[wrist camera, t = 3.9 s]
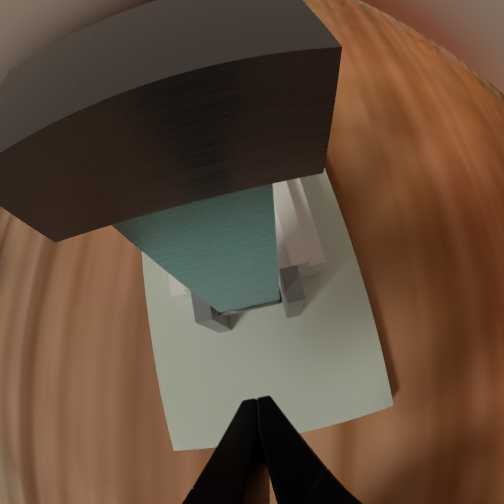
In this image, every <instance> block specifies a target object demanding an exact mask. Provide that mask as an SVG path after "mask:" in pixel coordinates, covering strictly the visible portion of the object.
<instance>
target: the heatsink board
mask: <svg viewBox="0 0 504 504" xmlns="http://www.w3.org/2000/svg"><path fill="white" fill-rule="evenodd" d="M273 198H274V212H275V227H276V242H277V259H278V276H279V288H280V292H281V297H282V303H280V304H276V305H272V306H267V307H263V308H258V309H254V310H249V311H245V312H240V313H235V314H230V315H226V316H221V317H220V316H219V315H218V313H217V310H215V309H214V308H213V307H211V306H210V305H209V304H207V303H206V302H205V301H203V300H202V299H201V298H200V297H198V296H197V295H196V294H194V293H193V292H192V291H191V290H189V289H188V288H187V287H185V286H184V285H183V284H182V283H180V282H179V281H178V280H177V279H175V278H174V277H173V276H172V275H170V274H169V273H168V272H167V271H165V270H164V269H163V268H162V267H161V266H159V265H158V264H157V263H156V262H154V261H153V260H152V259H151V258H150V257H148V256H147V255H146V254H145V253H144V252H142V261H143V273H144V283H145V293H146V301H147V310H148V318H149V325H150V332H151V339H152V346H153V352H154V358H155V364H156V370H157V376H158V381H159V387H160V392H161V397H162V402H163V407H164V411H165V416H166V420H167V425H168V429H169V434H170V438H171V442H172V446H173V450H174V451H177V450H192V449H204V448H214V447H217V445H218V444H219V442H220V440H221V438H222V437H223V435H224V433H225V431H226V430H227V428H228V426H229V424H230V422H231V421H232V419H233V417H234V415H235V413H236V412H237V410H238V408H239V406H240V404H241V402H242V401H243V400H247V399H252V398H255V399H256V400H257V398H258V397H263V396H268V395H269V396H271V397H272V398H273V400H274V401H275V402H276V404H277V405H278V406H279V408H280V409H281V410H282V412H283V413H284V414H285V416H286V417H287V418H288V420H289V421H290V422H291V424H292V425H293V426H294V427H295V429H296V430H297V431H298V433H303V432H307V431H312V430H316V429H320V428H324V427H327V426H331V425H335V424H338V423H342V422H345V421H349V420H352V419H355V418H359V417H362V416H365V415H368V414H371V413H374V412H377V411H380V410H383V409H385V408H388V407H391V406H394V405H393V400H392V395H391V390H390V385H389V380H388V376H387V371H386V366H385V362H384V358H383V353H382V349H381V345H380V341H379V337H378V333H377V329H376V325H375V321H374V317H373V314H372V310H371V306H370V303H369V299H368V295H367V292H366V288H365V285H364V282H363V278H362V275H361V272H360V268H359V265H358V262H357V259H356V255H355V252H354V249H353V246H352V243H351V240H350V237H349V234H348V231H347V228H346V225H345V222H344V219H343V216H342V214H341V211H340V208H339V205H338V202H337V200H336V197H335V194H334V191H333V189H332V186H331V183H330V181H329V178H328V176H327V173H326V170H325V168H324V171H323V173H322V174H317V175H312V176H307V177H302V178H297V179H292V180H287V181H282V182H277V183H273Z"/></svg>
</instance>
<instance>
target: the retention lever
mask: <svg viewBox="0 0 504 504" xmlns="http://www.w3.org/2000/svg"><path fill="white" fill-rule="evenodd" d="M341 51H342V46H341V45H340V44H339V42H338V41H337V40H336V39H335V37H334V36H333V35H332V34H331V33H330V31H329V30H328V29H327V28H326V27H325V25H324V24H323V23H322V22H321V21H320V20H319V18H318V17H317V16H316V15H315V14H314V13H313V12H312V11H311V9H310V8H309V7H308V6H307V5H306V4H305V3H304V2H303V1H302V0H156V1H153V2H149V3H146V4H144V5H141V6H138V7H135V8H132V9H129V10H127V11H124V12H121V13H119V14H117V15H114V16H112V17H109V18H107V19H104V20H102V21H100V22H98V23H95V24H93V25H91V26H89V27H87V28H84V29H82V30H80V31H78V32H76V33H74V34H72V35H70V36H68V37H66V38H64V39H62V40H60V41H59V42H57V43H55V44H53V45H51V46H49V47H48V48H46V49H44V50H42V51H41V52H39V53H37V54H36V55H34V56H32V57H31V58H30V59H28V60H26V61H25V62H23V63H21V64H20V65H18V66H17V67H15V68H14V69H12V70H11V71H9V73H8V74H7V76H6V78H5V80H4V82H3V83H2V85H1V87H0V206H1V207H3V208H4V209H5V210H7V211H8V212H10V213H11V214H13V215H14V216H16V217H17V218H19V219H20V220H21V221H23V222H24V223H26V224H27V225H29V226H31V227H32V228H34V229H35V230H37V231H38V232H40V233H41V234H43V235H44V236H46V237H48V238H49V239H51V240H52V241H54V242H58V241H62V240H65V239H68V238H71V237H74V236H77V235H80V234H83V233H86V232H90V231H93V230H96V229H99V228H102V227H106V226H109V225H112V226H113V227H114V228H115V229H117V230H118V231H119V232H120V233H121V234H122V235H124V236H125V237H126V238H127V239H128V240H129V241H131V242H132V243H133V244H134V245H135V246H136V247H138V248H139V249H140V250H141V251H142V252H144V253H145V254H146V255H147V256H148V257H150V258H151V259H152V260H153V261H154V262H156V263H157V264H158V265H159V266H161V267H162V268H163V269H164V270H165V271H167V272H168V273H169V274H170V275H172V276H173V277H174V278H175V279H177V280H178V281H179V282H180V283H182V284H183V285H184V286H185V287H187V288H188V289H189V290H191V291H192V292H193V293H194V294H196V295H197V296H198V297H200V298H201V299H202V300H203V301H205V302H206V303H207V304H209V305H210V306H211V307H213V308H214V309H215V310H217V313H218V315H219V316H220V317H221V316H226V315H230V314H235V313H240V312H245V311H249V310H254V309H258V308H263V307H267V306H272V305H276V304H280V303H282V297H281V292H280V288H279V276H278V259H277V242H276V227H275V212H274V198H273V183H277V182H282V181H287V180H292V179H297V178H302V177H307V176H312V175H317V174H322V173H323V171H324V166H325V160H326V154H327V148H328V142H329V136H330V130H331V124H332V117H333V110H334V104H335V97H336V90H337V82H338V75H339V67H340V59H341Z"/></svg>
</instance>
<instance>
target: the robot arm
mask: <svg viewBox="0 0 504 504" xmlns="http://www.w3.org/2000/svg"><path fill="white" fill-rule="evenodd" d="M269 475H270V479H271V482H272V486H273V490H274V493H275V497H276V500H277V504H362V503H361V502H360V501H359V500H358V499H356V498H355V497H354V496H353V495H352V494H351V493H350V492H349V491H348V490H346V488H345V487H344V486H343V485H342V484H341V483H340V482H339V481H338V480H337V479H336V478H335V477H334V475H333V474H332V473H331V472H330V471H329V469H327V467H326V466H325V465H324V464H323V463H322V461H321V460H320V459H319V458H318V456H317V455H316V454H315V453H314V452H313V450H312V449H311V448H310V447H309V445H308V444H307V443H306V442H305V440H304V439H303V438H302V436H301V435H300V434H299V433H298V431H297V430H296V429H295V427H294V426H293V425H292V424H291V422H290V421H289V420H288V418H287V417H286V416H285V414H284V413H283V412H282V410H281V409H280V408H279V406H278V405H277V404H276V402H275V401H274V400H273V398H272V397H271V396H269V395H268V396H263V397H258V398H257V400H256V399H255V398H252V399H247V400H243V401H242V402H241V404H240V406H239V408H238V410H237V412H236V413H235V415H234V417H233V419H232V421H231V422H230V424H229V426H228V428H227V430H226V431H225V433H224V435H223V437H222V438H221V440H220V442H219V444H218V445H217V447H216V449H215V451H214V452H213V454H212V456H211V458H210V459H209V461H208V463H207V464H206V466H205V468H204V469H203V471H202V473H201V474H200V476H199V478H198V479H197V481H196V483H195V484H194V486H193V488H194V489H191V490H190V492H189V494H188V495H187V497H186V498H185V500H184V501H183V503H182V504H270V490H269Z"/></svg>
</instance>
